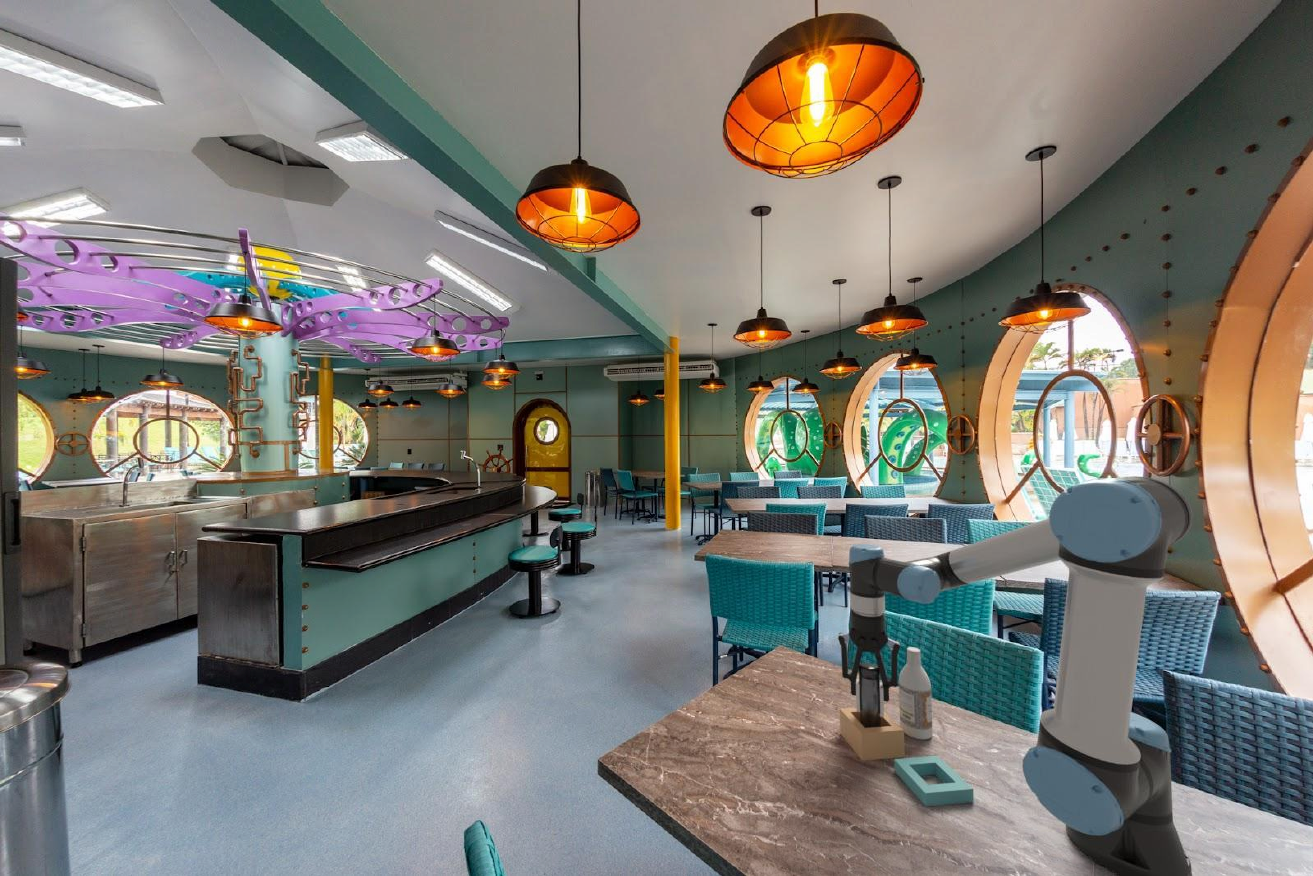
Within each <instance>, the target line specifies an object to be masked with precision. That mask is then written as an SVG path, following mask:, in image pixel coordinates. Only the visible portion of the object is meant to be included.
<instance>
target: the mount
mask: <svg viewBox="0 0 1313 876" xmlns="http://www.w3.org/2000/svg"><path fill="white" fill-rule="evenodd" d="M893 762H894V763H893V765H894V772H895V774H897V776H898V777H899V778H900V779H901V780H902V781H903V783H905V784H906V786H907V787H908V788H909V789H910V790H911V791H912V793H913V794H915V796H916V797H917V798H918V799H919V801H920V802H921V803H922V804H923V805H924V806H925V807H931V806H932V807H933V806H934V807H935V806H944V805H953V804H954V805H956V804H964V803H965V804H966V803H967V804H968V803H974V802H975V801H974V797H975V796H974V788H973V787H972V786H971V785H970V784H969V783H967V782H966V780H965V779H963V778H962V777H961V776H960V775H959V774H958V773H957V772H956V771H955V770H953V768H951V767H950V765H948V763H946V762H945V761H944V760H943V759H942V758H941V757H940V756H938V755H930V756H920V757H919V756H917V757H906V758H905V757H902V758H893ZM935 775H936V777H938V779H940V781H942V782H943V783H933V784H928V783H927V782H926V781H925V780H924V779H923V778H922V777H923V776H924V777H925V776H935Z"/></svg>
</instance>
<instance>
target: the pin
mask: <svg viewBox="0 0 1313 876" xmlns="http://www.w3.org/2000/svg"><path fill="white" fill-rule="evenodd" d="M858 679H859V686H860V723H861V724H862V725H863V726H864V728H872V727H881V717H880V683H881V681H880V680H881V676H880V672H879V668H878V665H876V664H873V663H869V662H860V666H859V670H858Z"/></svg>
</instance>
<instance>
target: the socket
mask: <svg viewBox="0 0 1313 876" xmlns="http://www.w3.org/2000/svg"><path fill="white" fill-rule="evenodd" d="M839 722H840V725H839V727H840V730H839V731H840V735H841V736H842V737H843V739H844V740H845V741H846V742H847V744H848V746H850V747H851V749H852V750H853V751H854V752H855V754H857V756H858V757H859V759H861V760H862V761H874V760H884V759H885V760H887V759H888V760H889V759H902V758H905V757H906V751H905V750H906V749H905V747H906V746H905V733H904V730H903V729H902V728H901V727H900V724H898V723H897V722H896V721H895V720H894V719H893V718H892V717H891V716H890V715H889V714H888V713H887V712H886V711H885V710H884V717H881V727H872V728H864V726H863V725H862V724H861V723H860V712H857V709H856V707H847V708H846V707H842V708H839Z"/></svg>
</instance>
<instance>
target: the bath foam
mask: <svg viewBox="0 0 1313 876" xmlns="http://www.w3.org/2000/svg"><path fill="white" fill-rule="evenodd" d="M921 657H922V655H921V649H919V648H918V647H913V646H908V647H906V661H907V662H906V664H905V665H904V666H903V668H902V669H900V670H901V671H900V672H899V676H898V702H899V723H900V724H899V726H900V727H901V728H902V729H903V730H904V735H907V736H908V737H910V738H913V739H915V740H916V739H917V740H929V739H930V738H932V736H933V734H934V733H933V730H934V729H933V705H932V701H933V700H932V685H931V680H930V678H929V676H928V674H927V672H926V670H925V669H924V667H923V666H922V664H921V663H922V661H921Z"/></svg>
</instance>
